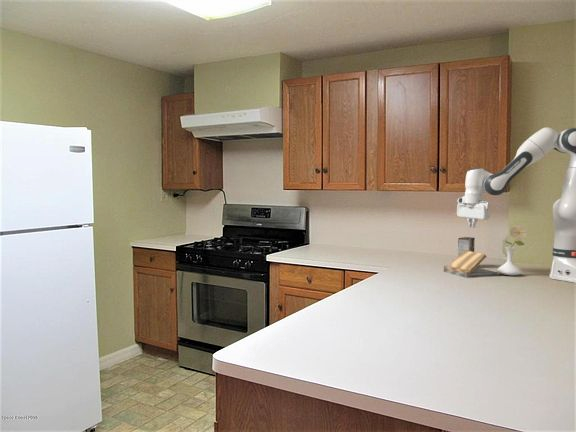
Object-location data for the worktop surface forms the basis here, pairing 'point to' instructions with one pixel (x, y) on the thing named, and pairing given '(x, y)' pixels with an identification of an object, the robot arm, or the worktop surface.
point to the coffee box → (465, 244)
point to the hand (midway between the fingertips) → (472, 227)
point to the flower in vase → (509, 266)
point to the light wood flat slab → (468, 260)
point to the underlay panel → (475, 273)
